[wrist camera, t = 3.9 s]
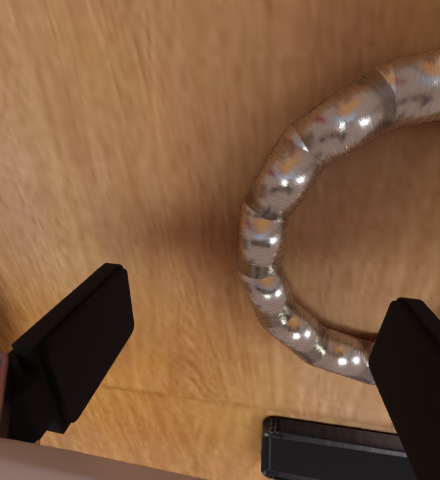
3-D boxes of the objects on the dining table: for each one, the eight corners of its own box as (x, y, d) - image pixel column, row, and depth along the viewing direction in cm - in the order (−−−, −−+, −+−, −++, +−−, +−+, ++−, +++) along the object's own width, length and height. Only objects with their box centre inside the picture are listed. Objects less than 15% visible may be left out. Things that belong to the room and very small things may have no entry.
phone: (263, 429, 22) (464, 461, 19) (263, 415, 23) (455, 444, 20) (260, 477, 25) (432, 510, 22) (261, 463, 26) (425, 494, 23)
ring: (749, 45, 9) (909, 20, 7) (497, 381, 17) (533, 422, 15) (254, 45, 12) (251, 26, 10) (232, 339, 20) (227, 368, 17)
